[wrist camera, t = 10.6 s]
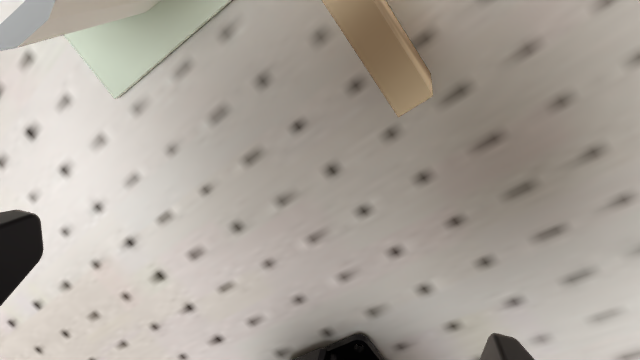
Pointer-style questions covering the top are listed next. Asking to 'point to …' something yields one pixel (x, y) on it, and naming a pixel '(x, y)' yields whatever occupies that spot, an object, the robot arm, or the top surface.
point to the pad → (140, 40)
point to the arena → (384, 51)
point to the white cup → (59, 17)
